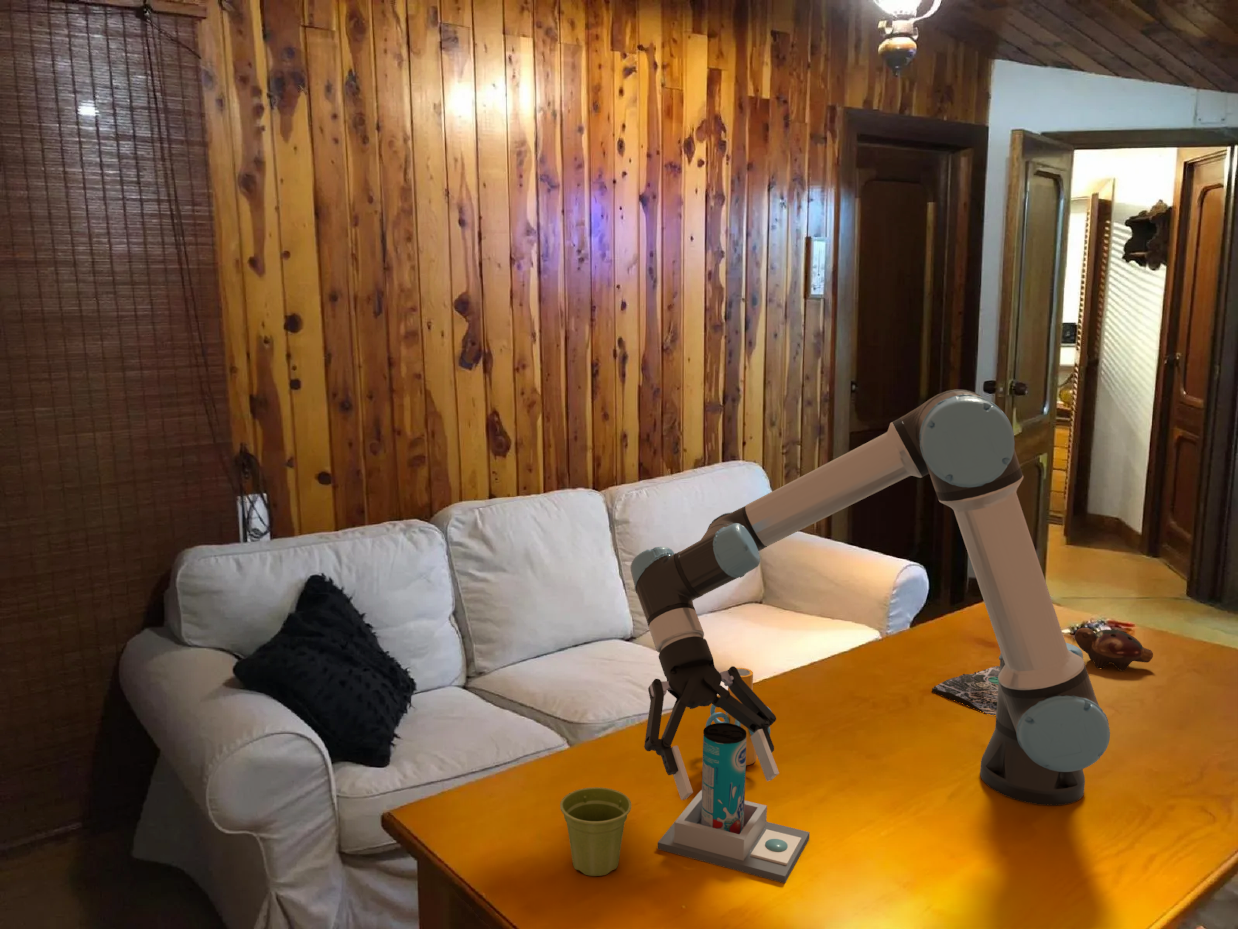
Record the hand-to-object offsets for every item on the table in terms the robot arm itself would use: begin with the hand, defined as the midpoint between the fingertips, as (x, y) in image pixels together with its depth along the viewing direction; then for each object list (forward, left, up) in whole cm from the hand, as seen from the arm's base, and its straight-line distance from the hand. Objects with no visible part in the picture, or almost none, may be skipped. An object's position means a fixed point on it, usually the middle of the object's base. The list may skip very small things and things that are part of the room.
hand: (731, 787), depth 133 cm
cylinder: (+8, -27, -9) cm, 29 cm away
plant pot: (+15, +11, -9) cm, 21 cm away
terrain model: (-28, -76, -10) cm, 81 cm away
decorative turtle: (-48, -103, -9) cm, 114 cm away
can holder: (0, -2, -9) cm, 9 cm away
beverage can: (+2, -2, -8) cm, 9 cm away
